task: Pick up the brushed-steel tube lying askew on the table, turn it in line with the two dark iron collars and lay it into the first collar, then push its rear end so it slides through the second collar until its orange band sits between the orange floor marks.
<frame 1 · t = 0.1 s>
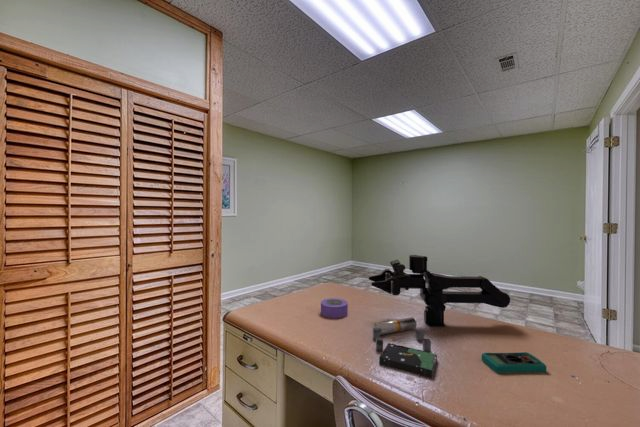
hand: (370, 281, 113), 17 cm above the table, tool horizontal, fingers open, 9 cm apart
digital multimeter: (512, 368, 81), on the table
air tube: (395, 331, 104), on the table
collar stand: (400, 344, 94), on the table
tape roll: (334, 314, 123), on the table
disk drive: (408, 364, 83), on the table
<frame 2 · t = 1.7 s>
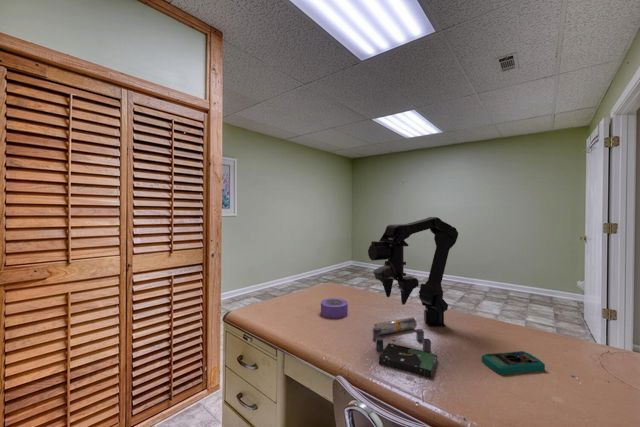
hand: (395, 300, 104), 11 cm above the table, tool pointing down, fingers open, 9 cm apart
nothing on the table moved.
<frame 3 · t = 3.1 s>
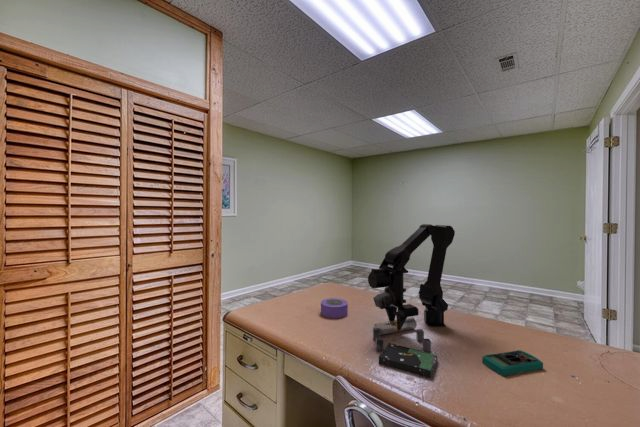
hand: (395, 327, 104), 2 cm above the table, tool pointing down, fingers closed on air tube, 4 cm apart
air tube: (395, 331, 104), on the table, touching gripper
everything else where it was.
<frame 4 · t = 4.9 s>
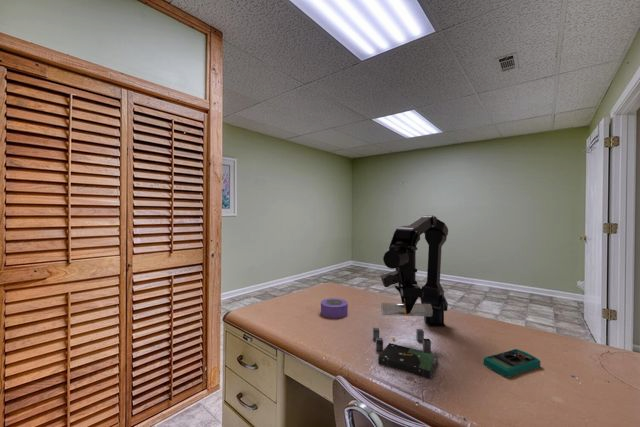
hand: (406, 310, 94), 11 cm above the table, tool pointing down, fingers closed on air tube, 4 cm apart
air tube: (406, 315, 94), point 10 cm above the table, touching gripper
when the fingers open (3 cm above the table, at t = 6.8 s): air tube drops 1 cm, on the table.
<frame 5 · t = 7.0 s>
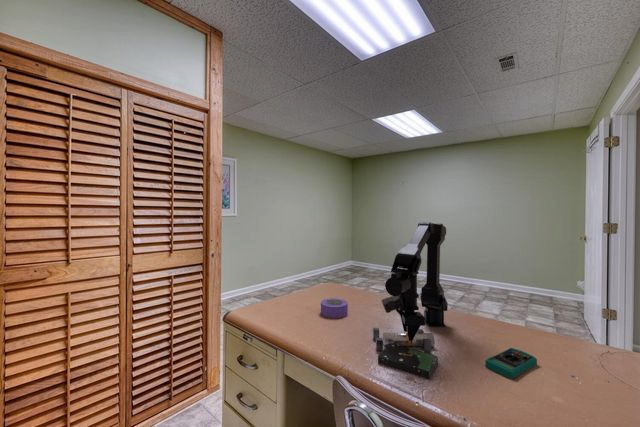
hand: (408, 336, 94), 3 cm above the table, tool pointing down, fingers open, 6 cm apart
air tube: (407, 344, 94), on the table, tilted 12°
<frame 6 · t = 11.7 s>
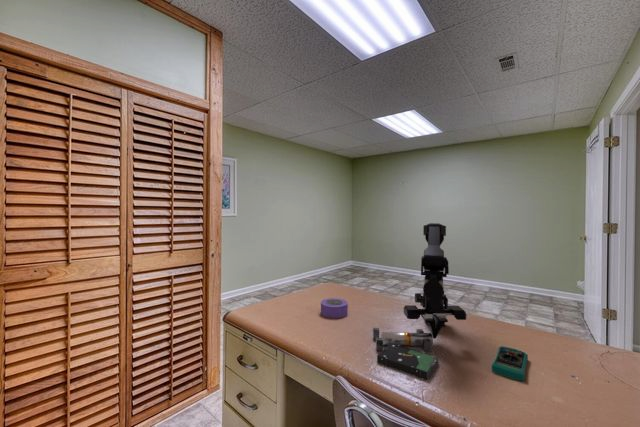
hand: (434, 338, 93), 3 cm above the table, tool pointing down, fingers closed
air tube: (406, 344, 94), on the table, tilted 5°, touching gripper
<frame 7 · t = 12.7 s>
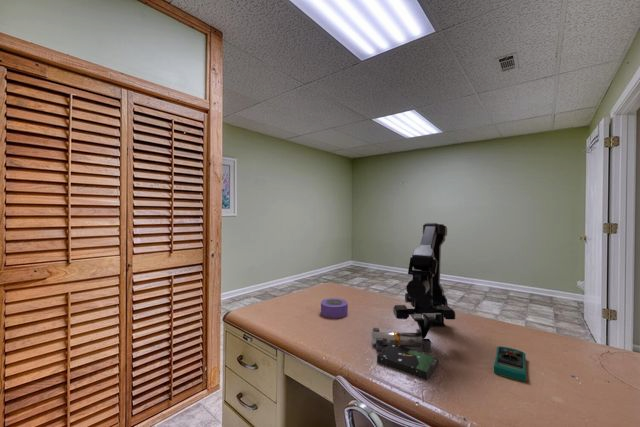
hand: (423, 337, 93), 3 cm above the table, tool pointing down, fingers closed
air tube: (396, 344, 94), on the table, tilted 5°, touching gripper
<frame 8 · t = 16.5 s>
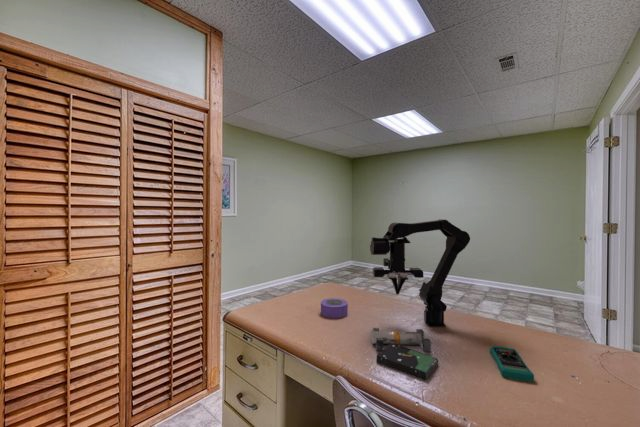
hand: (397, 294, 110), 12 cm above the table, tool pointing down, fingers closed
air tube: (396, 344, 94), on the table, tilted 11°
at the end: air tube 0.6 cm from the target spot, on the table; the gripper is holding nothing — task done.
